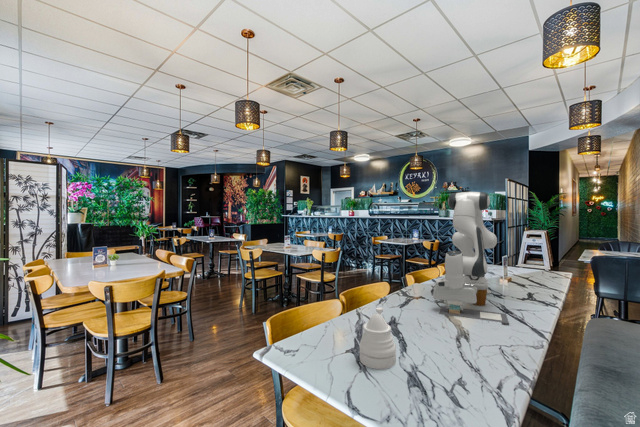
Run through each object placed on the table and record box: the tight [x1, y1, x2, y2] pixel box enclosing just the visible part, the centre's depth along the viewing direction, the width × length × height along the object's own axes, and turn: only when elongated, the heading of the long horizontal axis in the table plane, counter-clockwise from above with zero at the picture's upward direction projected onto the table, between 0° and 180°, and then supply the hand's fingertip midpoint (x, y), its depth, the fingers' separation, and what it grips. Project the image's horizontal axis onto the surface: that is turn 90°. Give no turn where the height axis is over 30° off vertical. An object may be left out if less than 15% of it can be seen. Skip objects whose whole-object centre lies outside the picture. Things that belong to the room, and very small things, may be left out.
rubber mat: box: [438, 305, 510, 326], centre depth 150 cm, size 14×30×1 cm, turn 63°
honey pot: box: [359, 306, 397, 370], centre depth 108 cm, size 13×13×18 cm
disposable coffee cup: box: [470, 282, 489, 307], centre depth 165 cm, size 10×10×12 cm
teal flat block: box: [449, 304, 461, 314], centre depth 153 cm, size 7×5×2 cm
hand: (454, 309), depth 153 cm, fingers closed on teal flat block, 5 cm apart
